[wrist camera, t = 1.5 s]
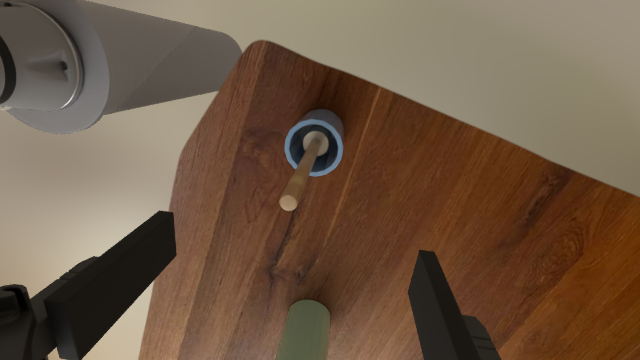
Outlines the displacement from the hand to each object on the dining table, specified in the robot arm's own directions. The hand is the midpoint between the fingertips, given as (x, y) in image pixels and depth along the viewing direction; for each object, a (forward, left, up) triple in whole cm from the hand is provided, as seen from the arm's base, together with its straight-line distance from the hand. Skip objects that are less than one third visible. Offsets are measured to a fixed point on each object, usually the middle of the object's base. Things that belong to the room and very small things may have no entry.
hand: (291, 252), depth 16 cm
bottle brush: (-1, -2, -31) cm, 31 cm away
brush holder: (-1, -2, -32) cm, 32 cm away
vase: (+26, -26, -32) cm, 49 cm away
